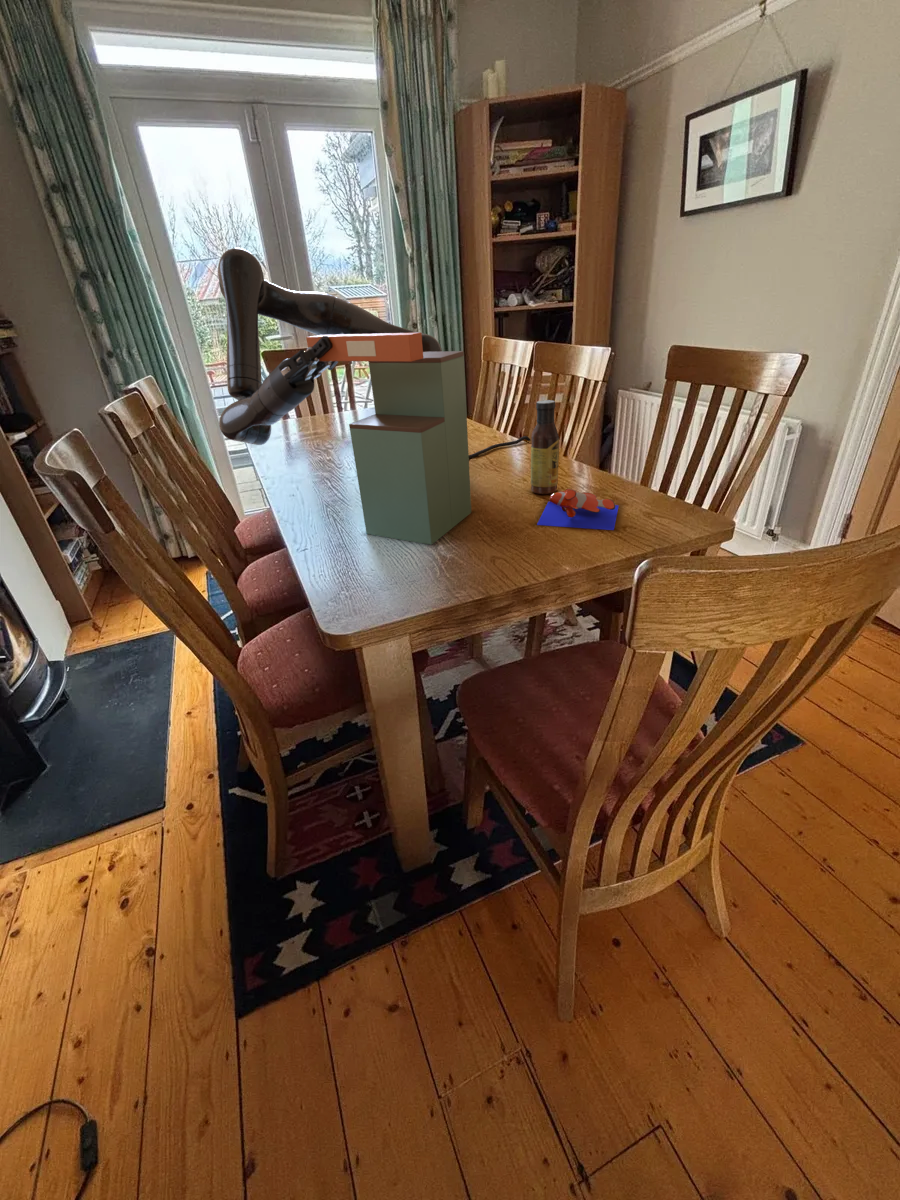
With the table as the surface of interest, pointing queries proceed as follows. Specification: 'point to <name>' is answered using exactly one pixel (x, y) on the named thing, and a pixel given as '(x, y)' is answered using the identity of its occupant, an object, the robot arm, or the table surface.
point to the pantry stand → (414, 448)
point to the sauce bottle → (544, 450)
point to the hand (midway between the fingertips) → (337, 339)
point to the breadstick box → (372, 347)
